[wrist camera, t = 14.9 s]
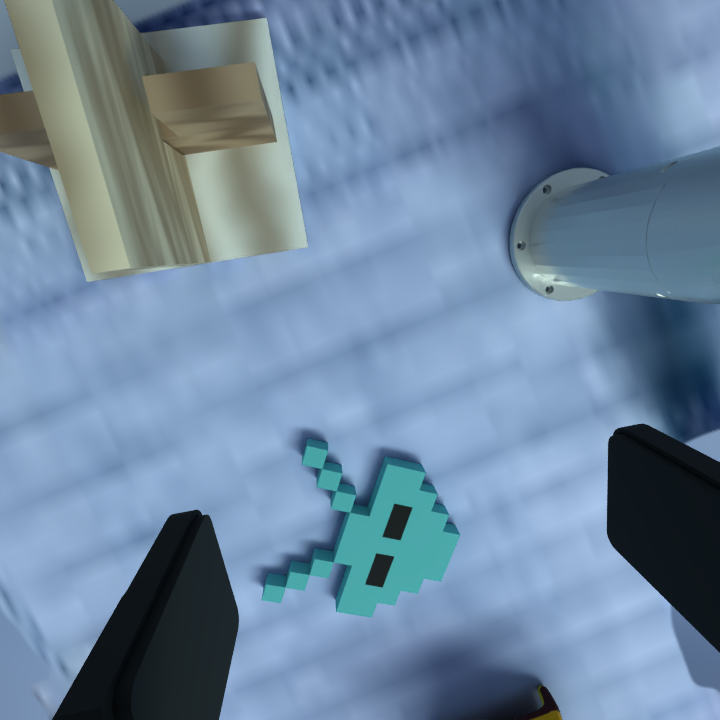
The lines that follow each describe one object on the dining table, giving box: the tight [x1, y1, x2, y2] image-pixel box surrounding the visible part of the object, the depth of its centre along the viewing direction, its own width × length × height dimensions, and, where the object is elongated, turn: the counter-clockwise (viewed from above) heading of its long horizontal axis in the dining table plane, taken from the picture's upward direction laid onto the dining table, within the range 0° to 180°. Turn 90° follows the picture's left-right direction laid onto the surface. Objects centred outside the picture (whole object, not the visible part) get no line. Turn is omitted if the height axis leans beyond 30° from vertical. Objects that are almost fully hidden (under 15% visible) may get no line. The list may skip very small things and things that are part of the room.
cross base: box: [0, 18, 308, 282], centre depth 30 cm, size 20×18×11 cm
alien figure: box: [262, 438, 460, 617], centre depth 47 cm, size 20×2×20 cm
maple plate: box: [4, 0, 211, 274], centre depth 27 cm, size 2×16×16 cm, turn 9°
